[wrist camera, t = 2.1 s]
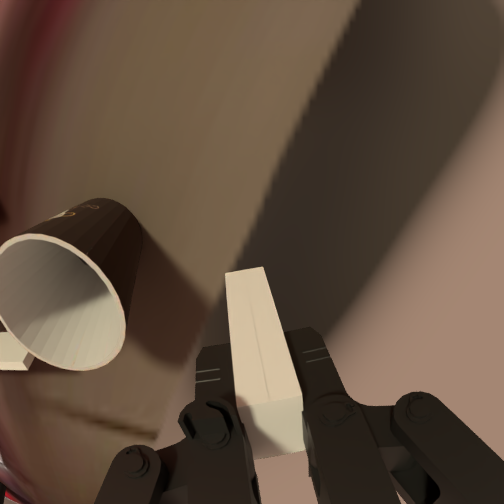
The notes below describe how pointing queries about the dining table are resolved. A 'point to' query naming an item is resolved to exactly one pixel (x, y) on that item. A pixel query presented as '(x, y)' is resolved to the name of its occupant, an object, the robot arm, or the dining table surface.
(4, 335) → the cream u-shaped bracket
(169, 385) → the dining table surface
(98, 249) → the dark brown mug
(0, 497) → the drinking cup
